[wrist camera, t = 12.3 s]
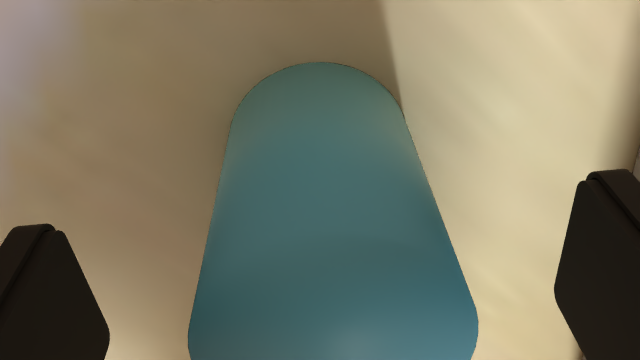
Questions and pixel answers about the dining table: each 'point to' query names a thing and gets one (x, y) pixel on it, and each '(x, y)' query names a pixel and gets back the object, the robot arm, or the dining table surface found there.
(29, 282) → the robot arm
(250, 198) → the cylinder
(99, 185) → the dining table surface
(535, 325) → the dining table surface
